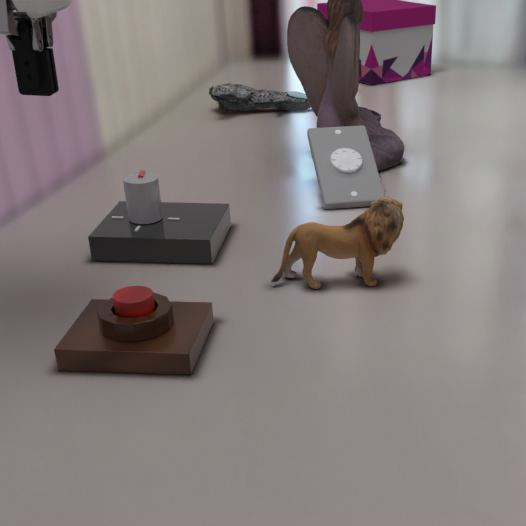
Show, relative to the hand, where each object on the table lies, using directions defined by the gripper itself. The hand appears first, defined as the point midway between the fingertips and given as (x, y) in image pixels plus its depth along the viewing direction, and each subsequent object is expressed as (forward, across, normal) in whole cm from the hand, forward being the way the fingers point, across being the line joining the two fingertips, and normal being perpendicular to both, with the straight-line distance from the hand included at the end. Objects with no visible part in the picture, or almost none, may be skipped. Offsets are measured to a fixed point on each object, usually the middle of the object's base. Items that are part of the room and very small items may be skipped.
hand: (39, 93), depth 75 cm
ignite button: (+17, -11, -11) cm, 23 cm away
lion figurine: (+20, +5, -29) cm, 35 cm away
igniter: (+20, -11, -11) cm, 26 cm away
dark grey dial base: (+20, +14, -6) cm, 25 cm away
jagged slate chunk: (+21, +81, -8) cm, 84 cm away
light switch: (+20, +34, -27) cm, 48 cm away
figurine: (+20, +50, -27) cm, 60 cm away
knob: (+17, +14, -4) cm, 23 cm away
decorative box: (+21, +119, -28) cm, 124 cm away
